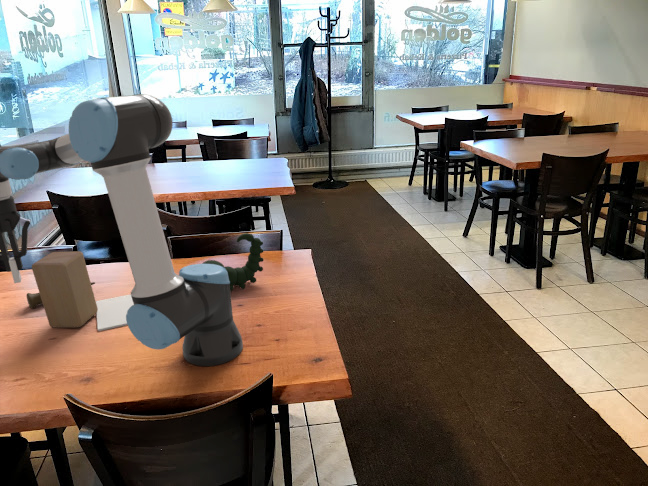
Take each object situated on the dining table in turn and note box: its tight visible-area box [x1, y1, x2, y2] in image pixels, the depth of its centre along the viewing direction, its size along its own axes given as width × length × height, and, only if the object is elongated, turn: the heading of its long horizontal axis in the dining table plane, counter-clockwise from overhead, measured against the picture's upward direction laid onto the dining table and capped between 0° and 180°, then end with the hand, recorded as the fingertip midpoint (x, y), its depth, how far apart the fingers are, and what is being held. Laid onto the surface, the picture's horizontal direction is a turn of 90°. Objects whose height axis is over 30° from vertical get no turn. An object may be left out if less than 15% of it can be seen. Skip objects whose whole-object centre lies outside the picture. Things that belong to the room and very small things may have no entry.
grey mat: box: [95, 293, 134, 332], centre depth 156 cm, size 20×17×1 cm
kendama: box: [26, 282, 96, 310], centre depth 165 cm, size 6×10×20 cm
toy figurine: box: [201, 233, 264, 292], centre depth 165 cm, size 9×19×25 cm
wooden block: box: [31, 251, 98, 328], centre depth 147 cm, size 10×10×20 cm
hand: (18, 281), depth 141 cm, fingers closed
